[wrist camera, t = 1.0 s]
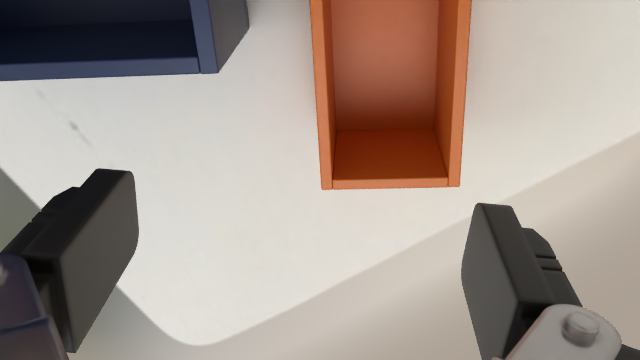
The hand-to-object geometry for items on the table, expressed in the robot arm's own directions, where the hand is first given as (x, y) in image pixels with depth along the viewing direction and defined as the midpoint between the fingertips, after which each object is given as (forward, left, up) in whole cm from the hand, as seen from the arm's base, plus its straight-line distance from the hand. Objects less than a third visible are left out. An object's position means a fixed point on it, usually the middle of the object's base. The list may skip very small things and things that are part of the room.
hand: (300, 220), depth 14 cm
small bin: (-3, 0, -17) cm, 17 cm away
